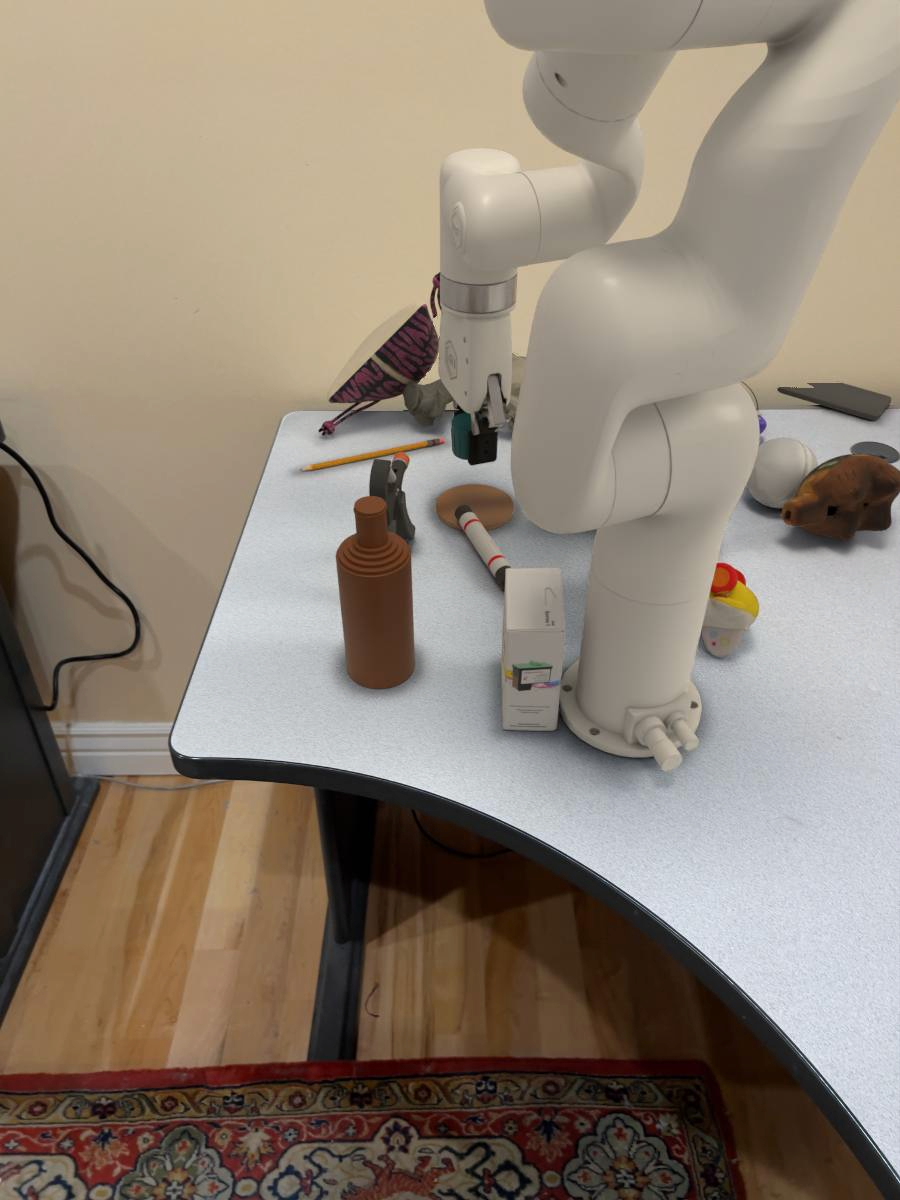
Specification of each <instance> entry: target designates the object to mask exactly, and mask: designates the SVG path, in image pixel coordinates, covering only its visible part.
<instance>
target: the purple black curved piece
mask: <svg viewBox="0 0 900 1200" xmlns="http://www.w3.org/2000/svg"><path fill="white" fill-rule="evenodd" d="M431 281H432V285H433V286H432V289H431V292H430V295H429V296H430V297H429V306H430V310H431V311H429V308H428V305H427V303H426V302H424V301H417V302H414V303H411V304H409V305H407V306H406V307H403V308H402V309H400V310H399V311H397V312H395V314H393V315H391V316H390V317H389V318H387V319H385V321H383V322H382V323H381V324H379V325H378V326H377V327H376V328H375V329H373V331H371V333H370V334H368V336H367V337H366V338H365V339H364V340H363V341H362V342H361V343H360V344H359V346H358V347H357V348H356V350H355V351H354V352H353V354H352V355H351V356H350V358H349V359H348V360H347V361H346V363H345V364H344V366H343V367H342V369H341V370H340V371H339V373H338V374H337V376H336V377H335V379H334V380H333V382H332V384H331V385H330V387H329V389H328V392H327V397H326V398H327V400H328V402H329V403H330V404H351V405H350V406H349V407H348V408H346V409H345V410H344V411H342V412H341V413H339V414H338V415H336V416H335V417H333V418H332V419H331V420H326V421H324V422H323V423H322V424H321V427H320V428H319V429H318V433H321V436H322V437H324V436H327V435H328V436H330V435H333V434H334V433H335V431H336V427H338V426H339V425H340V424H342V423H344V422H345V421H346V420H348V419H349V418H351V417H353V416H354V415H357V414H358V413H360V412H363V411H365V410H367V409H369V408H370V407H373V406H375V405H376V404H378V403H380V402H381V401H384V400H389V399H395V398H397V397H399V396H403V389H404V387H405V386H406V385H407V384H409V383H417V384H420V383H419V382H420V380H421V379H422V378H424V377H425V376H426V373H427V372H429V371H430V370H431V368H432V366H433V364H434V363H435V361H436V362H437V360H438V359H437V356H438V353H439V338H438V336H439V334H438V332H437V330H436V326H435V327H434V325H433V318H435V317H436V316H437V317H438V310H437V306H436V300H435V299H436V298H437V305H438V307H439V310H440V311H441V310H442V308H441V305H440V271H439V272H438V273H436V274H434V276H433V278H432V280H431ZM430 312H431V314H432V317H431V314H430ZM435 364H436V363H435ZM424 379H425V378H424ZM368 402H369V403H368ZM362 403H367V404H365V405H363V406H361V407H358V406H359V405H361V404H362ZM356 407H358V408H356ZM354 408H356V409H355V410H353V409H354ZM352 410H353V411H352Z"/></svg>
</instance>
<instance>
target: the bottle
mask: <svg viewBox="0 0 900 1200" xmlns="http://www.w3.org/2000/svg"><path fill="white" fill-rule="evenodd" d="M386 510H387V504H386V502H385V501H384V500H383V499H382V498H380V497H377V496H369V495H366V496H363V497H360V498H358V499H357V500H356V501H355V502H354V504H353V513H354V521H355V530H356V531H355V533H353V534H351V535H349V536H348V537H347V538H345V539H344V540H343V541H341V543H340V544H339V546H338V548H337V550H336V552H335V563H336V572H337V573H336V574H337V585H338V591H339V592H338V594H339V603H340V614H341V622H342V635H343V644H344V653H345V663H346V672H347V673H348V675H349V677H350V679H352V680H353V681H354V683H357V684H358V685H360V686H361V687H365V688H368V689H376V690H383V689H391V688H394V687H396V686H399V685H401V684H402V683H404V682H405V681H407V680H408V679H409V678H410V677H411V676H412V675H413V672H414V670H415V669H416V668H415V667H416V652H415V651H416V649H415V630H414V629H415V625H414V599H413V598H414V597H413V596H414V595H413V571H412V570H413V569H412V549H411V547H410V545H409V544H408V542H406V540H404V539H403V538H401V537H400V536H398V535H397V534H394V533H392V532H389V531H387V512H386Z"/></svg>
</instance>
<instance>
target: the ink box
mask: <svg viewBox="0 0 900 1200" xmlns="http://www.w3.org/2000/svg"><path fill="white" fill-rule="evenodd" d="M564 598H565V597H564V591H563V579H562V570H561V568H560V567H511V568H506V574H505V589H504V594H503V611H502V613H503V614H502V632H501V634H502V635H501V659H500V660H501V662H500V664H501V665H500V667H501V669H500V670H501V671H500V672H501V716H502V717H501V718H502V719H501V720H502V729H503V730H505V731H531V732H532V731H535V732H539V731H540V732H543V731H544V732H546V731H547V732H552V731H553V732H554V731H555V730H557V727H558V719H559V717H558V716H559V696H560V686H561V678H562V676H563V666H564V665H563V664H564V655H565V645H566V635H567V625H566V611H565V604H564V603H565V602H564Z"/></svg>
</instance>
